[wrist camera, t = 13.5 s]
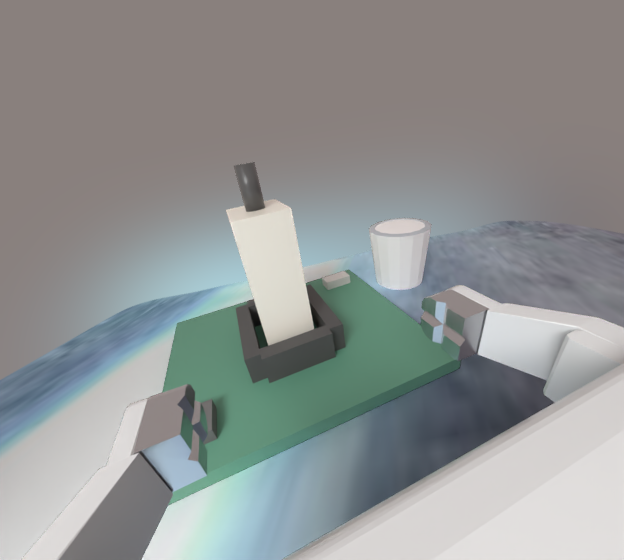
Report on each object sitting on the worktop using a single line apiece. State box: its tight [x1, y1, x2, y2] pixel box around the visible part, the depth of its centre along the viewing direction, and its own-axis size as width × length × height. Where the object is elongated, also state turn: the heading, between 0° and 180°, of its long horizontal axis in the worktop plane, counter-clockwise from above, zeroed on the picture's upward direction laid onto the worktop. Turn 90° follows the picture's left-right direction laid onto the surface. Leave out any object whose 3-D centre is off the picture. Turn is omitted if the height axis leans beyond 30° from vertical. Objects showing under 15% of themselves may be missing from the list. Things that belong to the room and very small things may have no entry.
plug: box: [226, 162, 314, 346], centre depth 20 cm, size 4×5×15 cm
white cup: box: [369, 218, 431, 290], centre depth 31 cm, size 7×7×7 cm
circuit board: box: [162, 270, 461, 505], centre depth 24 cm, size 22×18×4 cm
